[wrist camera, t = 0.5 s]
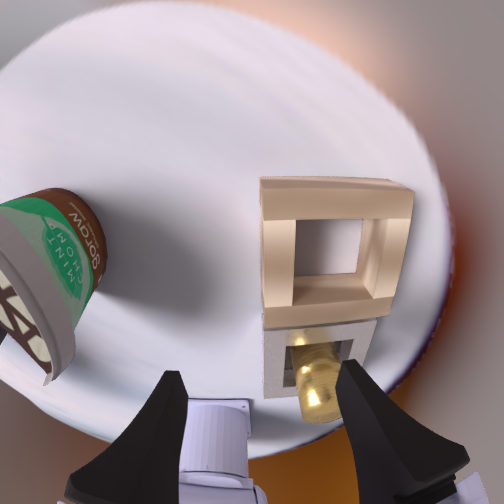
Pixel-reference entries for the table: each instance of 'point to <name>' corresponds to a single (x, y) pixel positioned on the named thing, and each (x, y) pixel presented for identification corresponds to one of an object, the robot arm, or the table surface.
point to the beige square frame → (334, 285)
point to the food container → (48, 272)
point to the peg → (317, 381)
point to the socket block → (277, 338)
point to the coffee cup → (2, 334)
